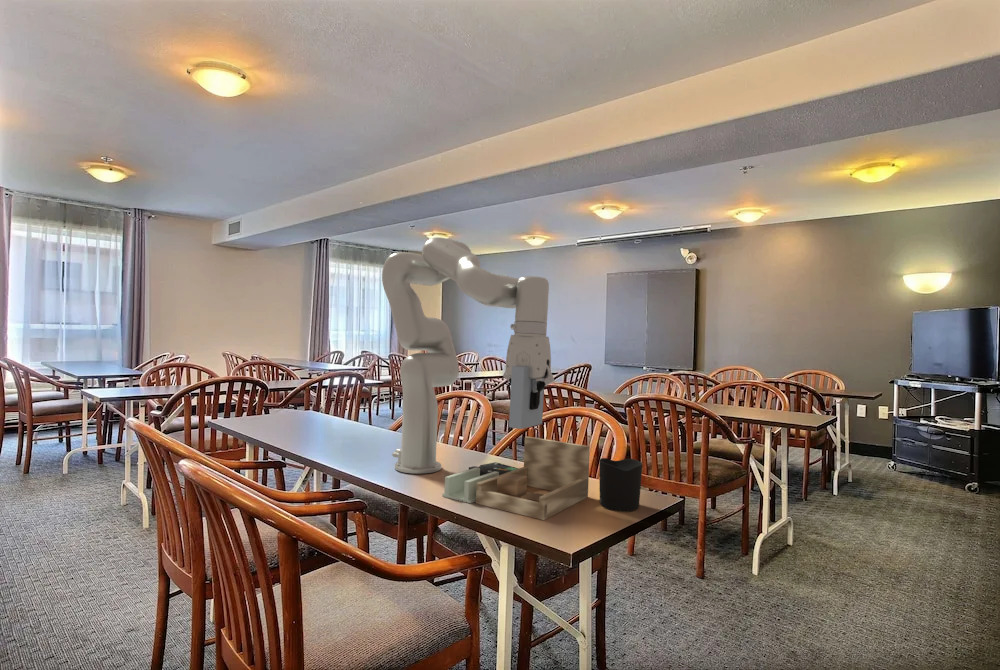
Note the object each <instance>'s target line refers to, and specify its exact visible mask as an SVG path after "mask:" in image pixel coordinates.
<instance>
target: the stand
mask: <svg viewBox="0 0 1000 670" xmlns="http://www.w3.org/2000/svg"><path fill="white" fill-rule="evenodd" d="M477 467H478V466H476V468H473V469H469V468H468V469H467V470H463V471H459V472H457V473H453V474H450V475H447V476H445V477H444V493H442V494H441V495H442V498H446V499H447V498H448V499H451V500H456V501H458V500H459V502H462V501H463V502H464V503H466V502H467V504H473V503H474V502H475V503H476V488H477V483H478V482H481V481H484V480H487V479H490V478H493V477H496V476H499V472H496V471H494V472H491V473H488V474H485V475H482V476H480V468H477Z"/></svg>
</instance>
